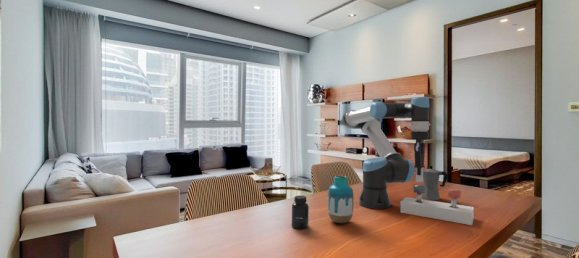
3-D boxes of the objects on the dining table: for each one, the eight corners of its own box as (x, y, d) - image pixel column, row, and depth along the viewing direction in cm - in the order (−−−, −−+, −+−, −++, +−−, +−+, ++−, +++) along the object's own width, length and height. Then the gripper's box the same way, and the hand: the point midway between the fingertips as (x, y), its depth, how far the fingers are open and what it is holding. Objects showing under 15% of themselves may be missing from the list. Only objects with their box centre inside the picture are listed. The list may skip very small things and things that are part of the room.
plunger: (412, 203, 130) (412, 185, 130) (414, 200, 134) (414, 183, 134) (423, 204, 127) (424, 187, 127) (426, 202, 131) (426, 185, 131)
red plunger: (446, 208, 122) (446, 190, 122) (448, 205, 126) (448, 188, 126) (460, 210, 119) (460, 191, 119) (461, 207, 123) (461, 189, 123)
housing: (400, 212, 131) (400, 201, 131) (405, 207, 139) (406, 196, 139) (472, 225, 114) (472, 213, 114) (473, 218, 123) (473, 207, 122)
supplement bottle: (296, 230, 109) (296, 200, 108) (288, 225, 115) (288, 195, 115) (311, 227, 112) (311, 197, 112) (303, 222, 118) (303, 193, 118)
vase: (337, 216, 126) (337, 173, 125) (358, 222, 118) (358, 176, 118) (322, 222, 118) (322, 176, 118) (343, 228, 111) (343, 180, 110)
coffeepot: (414, 196, 158) (415, 164, 157) (423, 194, 163) (423, 163, 163) (443, 203, 145) (443, 168, 145) (451, 200, 151) (452, 166, 151)
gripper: (426, 131, 122) (425, 185, 123) (431, 130, 133) (430, 180, 133) (407, 131, 127) (407, 183, 127) (414, 130, 137) (414, 178, 138)
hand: (419, 181), depth 130 cm, fingers closed
